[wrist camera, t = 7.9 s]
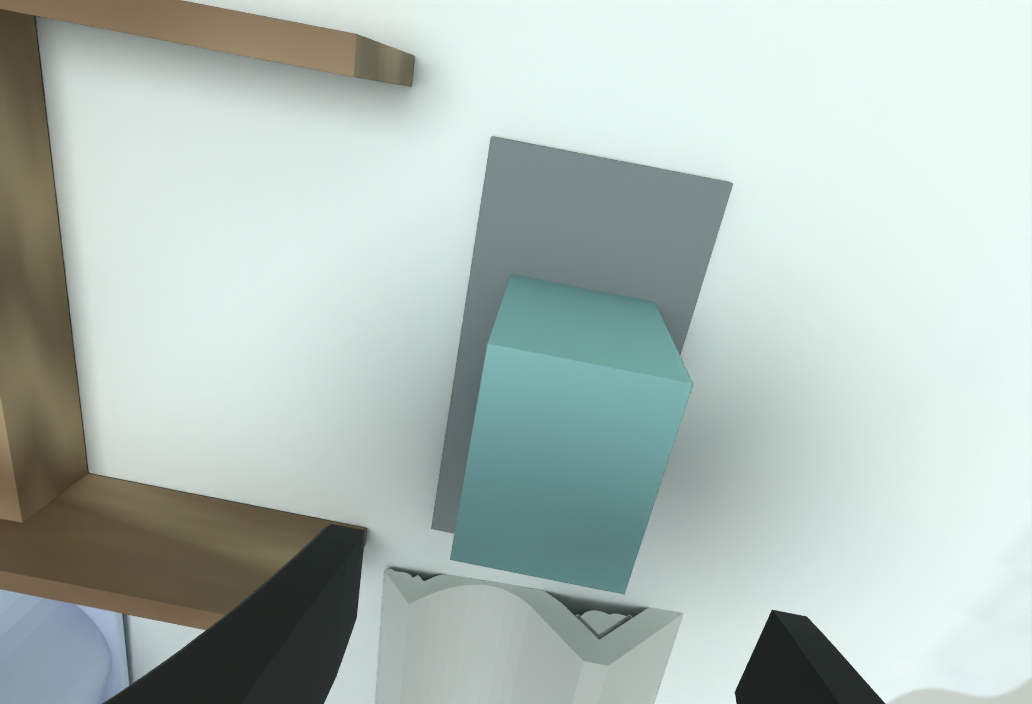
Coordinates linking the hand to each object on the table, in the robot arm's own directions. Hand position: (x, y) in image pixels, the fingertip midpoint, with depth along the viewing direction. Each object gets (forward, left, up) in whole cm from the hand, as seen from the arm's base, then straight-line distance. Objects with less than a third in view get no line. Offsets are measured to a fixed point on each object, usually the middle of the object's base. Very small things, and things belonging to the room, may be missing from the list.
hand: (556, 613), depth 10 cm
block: (0, 0, -10) cm, 10 cm away
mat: (0, 0, -10) cm, 10 cm away
